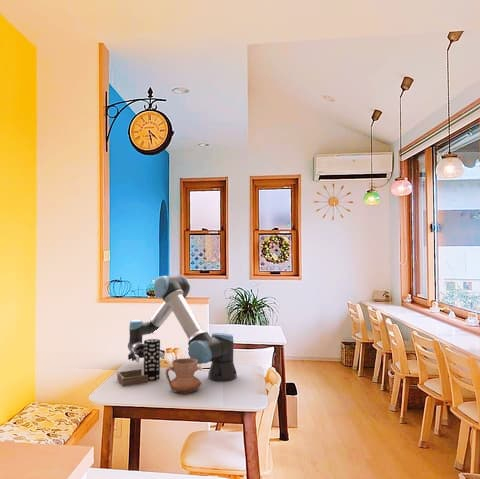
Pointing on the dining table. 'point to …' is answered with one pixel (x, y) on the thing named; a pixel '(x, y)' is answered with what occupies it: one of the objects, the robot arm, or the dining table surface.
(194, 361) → the ceramic jug
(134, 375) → the tray
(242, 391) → the dining table surface
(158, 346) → the white-spotted black cylinder
